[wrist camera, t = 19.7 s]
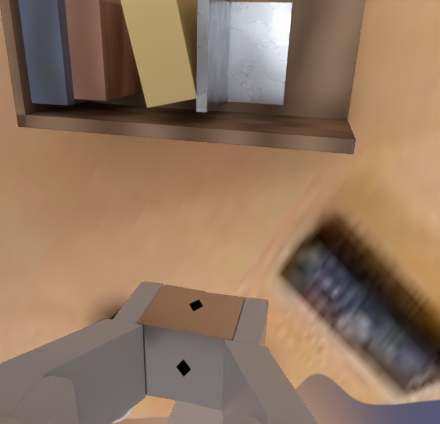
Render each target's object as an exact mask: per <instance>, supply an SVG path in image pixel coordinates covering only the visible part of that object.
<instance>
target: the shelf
mask: <svg viewBox="0 0 440 424" xmlns="http://www.w3.org/2000/svg"><path fill="white" fill-rule="evenodd" d="M229 1H231V2H277V3H293V6H292V17H291V28H290V40H289V51H288V62H287V73H286V84H285V96H284V104H283V105H277V104H261V103H245V102H228V101H227V102H225V103H223V104H222V105H220V106H218V107H216V108H214V109H212V110H210V111H209V112H196V98H195V99H190V100H185V101H180V102H175V103H170V104H165V105H160V106H155V107H149V108H147V105H146V101H145V97H144V93H143V89H142V85H141V81H140V77H139V73H138V69H137V65H136V61H135V57H134V53H133V49H132V45H131V41H130V37H129V33H128V29H127V25H126V21H125V17H124V13H123V8H122V4H121V0H0V7H1V14H2V21H3V28H4V34H5V41H6V48H7V54H8V61H9V68H10V75H11V81H12V88H13V95H14V101H15V108H16V115H17V122H18V127H28V128H40V129H52V130H64V131H76V132H89V133H101V134H113V135H125V136H137V137H149V138H162V139H174V140H186V141H198V142H210V143H223V144H235V145H247V146H259V147H271V148H284V149H296V150H308V151H320V152H332V153H345V154H354V147H355V141H356V139H355V137H354V134H353V132H352V130H351V127H350V125H349V123H348V120H347V118H348V111H349V105H350V98H351V91H352V84H353V78H354V71H355V64H356V57H357V50H358V44H359V37H360V30H361V23H362V17H363V10H364V3H365V0H229Z"/></svg>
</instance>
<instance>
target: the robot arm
mask: <svg viewBox="0 0 440 424" xmlns="http://www.w3.org/2000/svg"><path fill="white" fill-rule="evenodd" d="M267 316H268V300H265V299H257V298H248V297H247V298H245V297H238V296H231V295H223V294H215V293H207V292H205V291H199V290H193V289H188V288H182V287H176V286H170V285H163V284H159V283H152V282H142V283H141V284H140V285H139V286H138V287H137V289H136V290H135V291H134V293H133V294H132V295H131V296H130V298H129V299H128V300H127V302H126V303H125V304H124V306H123V307H122V308H121V309H120V311H119V312H118V313H117V315H116V316H115V317H114V318H113V320H112V319H105V320H102V321H100V322H97V323H95V324H93V325H90V326H88V327H86V328H83V329H81V330H79V331H76V332H74V333H71V334H69V335H67V336H64V337H62V338H60V339H57V340H55V341H53V342H50V343H48V344H45V345H43V346H41V347H38V348H36V349H34V350H31V351H29V352H27V353H24V354H22V355H19V356H17V357H15V358H12V359H10V360H8V361H5V362H3V363H1V364H0V424H111V423H113V422H114V421H115V420H117V419H118V418H119V417H121V416H122V415H123V414H124V413H126V412H127V411H128V410H130V409H131V408H132V407H133V406H135V405H136V404H137V403H139V402H140V401H141V400H143V399H144V398H145V397H146V395H149V396H155V397H160V398H166V399H172V400H177V401H183V402H187V403H191V404H196V405H200V406H204V407H208V408H212V409H217V410H221V411H222V416H223V422H222V424H318V423H317V421H316V420H315V418H314V417H313V415H312V414H311V412H310V411H309V409H308V408H307V406H306V405H305V403H304V402H303V401H302V399H301V398H300V396H299V394H298V393H297V391H296V390H295V389H294V387H293V386H292V384H291V383H290V381H289V380H288V378H287V377H286V375H285V374H284V372H283V371H282V369H281V368H280V366H279V365H278V363H277V362H276V360H275V359H274V357H273V356H272V355H271V353H270V352H269V350H268V349H267V347H266V346H265V336H266V326H267Z"/></svg>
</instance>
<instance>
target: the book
mask: <svg viewBox="0 0 440 424" xmlns="http://www.w3.org/2000/svg"><path fill="white" fill-rule="evenodd" d="M121 4H122V8H123V13H124V17H125V21H126V25H127V29H128V33H129V37H130V41H131V45H132V49H133V53H134V57H135V61H136V65H137V69H138V73H139V77H140V81H141V85H142V89H143V93H144V97H145V101H146V105H147V108H149V107H155V106H160V105H165V104H170V103H175V102H180V101H185V100H190V99H195V98H196V93H197V10H198V0H121Z"/></svg>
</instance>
